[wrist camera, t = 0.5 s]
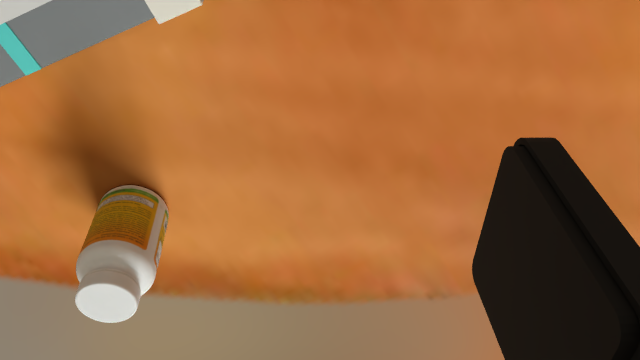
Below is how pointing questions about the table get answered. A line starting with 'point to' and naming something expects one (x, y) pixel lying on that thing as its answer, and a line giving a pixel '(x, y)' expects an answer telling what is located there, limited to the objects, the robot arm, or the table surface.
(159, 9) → the white block
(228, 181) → the table surface
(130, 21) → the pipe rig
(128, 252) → the supplement bottle
